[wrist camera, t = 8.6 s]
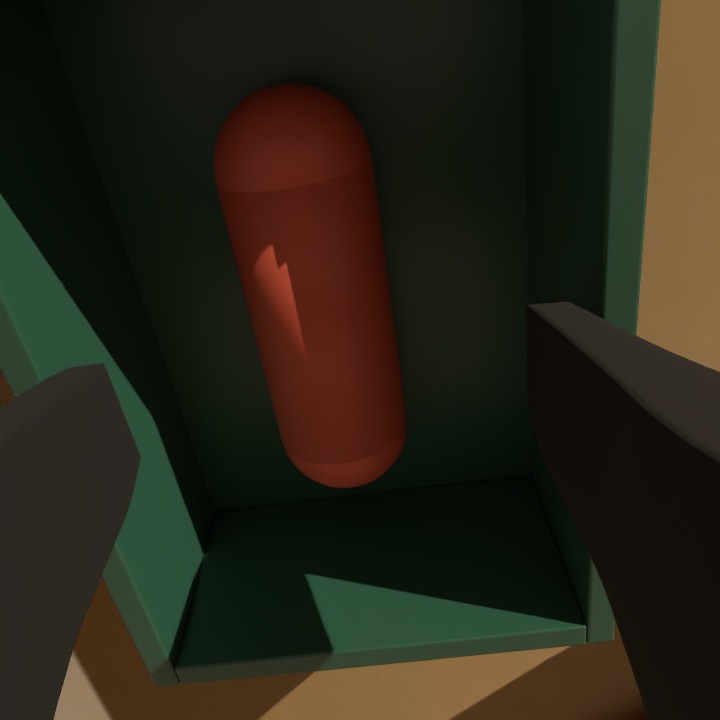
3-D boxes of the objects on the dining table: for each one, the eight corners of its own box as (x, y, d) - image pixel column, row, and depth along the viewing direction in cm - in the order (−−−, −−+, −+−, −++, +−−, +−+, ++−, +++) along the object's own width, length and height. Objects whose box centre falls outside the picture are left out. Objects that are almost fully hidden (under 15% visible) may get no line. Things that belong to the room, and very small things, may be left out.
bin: (203, 516, 19) (154, 688, 15) (9, -34, 12) (-207, -48, 8) (548, 476, 19) (615, 642, 14) (547, -130, 12) (679, -210, 7)
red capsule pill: (419, 435, 17) (406, 516, 14) (309, 435, 18) (278, 515, 15) (372, 61, 13) (341, 86, 10) (228, 82, 13) (165, 110, 11)
